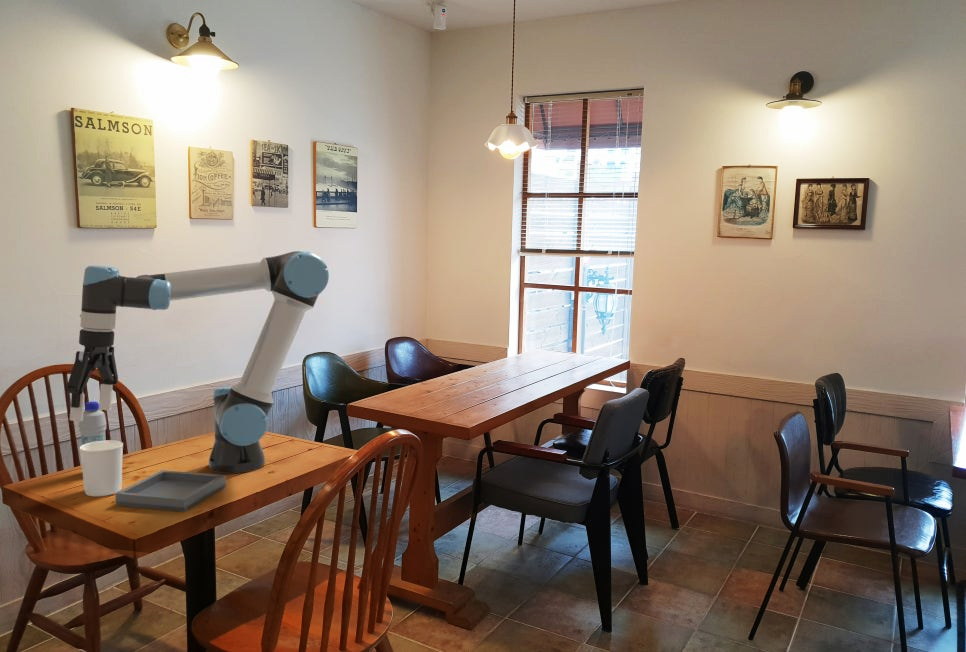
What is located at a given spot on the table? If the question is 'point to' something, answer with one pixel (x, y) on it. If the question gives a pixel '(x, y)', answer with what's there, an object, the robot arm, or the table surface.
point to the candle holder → (102, 467)
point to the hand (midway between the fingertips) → (91, 415)
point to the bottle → (92, 424)
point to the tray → (171, 490)
